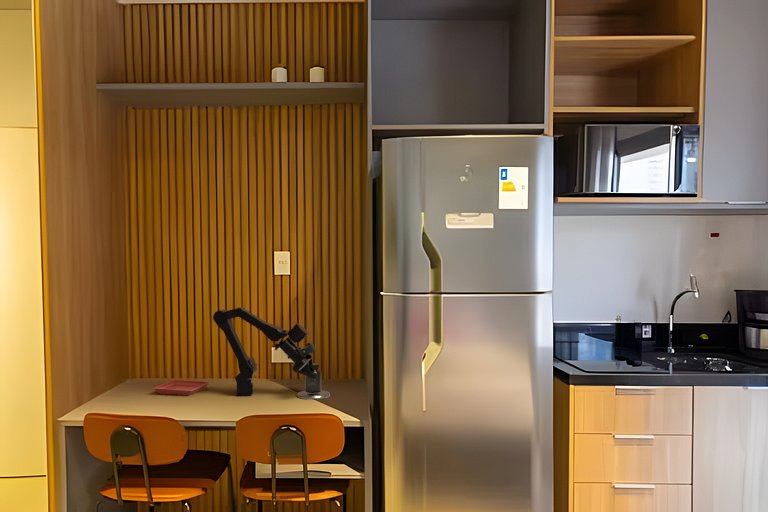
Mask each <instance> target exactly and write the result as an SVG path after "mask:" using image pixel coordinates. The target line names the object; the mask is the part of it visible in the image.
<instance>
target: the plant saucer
mask: <svg viewBox="0 0 768 512" xmlns="http://www.w3.org/2000/svg"><path fill="white" fill-rule="evenodd" d="M209 384H210V382H209V381H200V380H199V381H198V380H196V381H195V380H183V379H182V380H181V379H180V380H179V379H172V380H169V381H167V382H165V383H162V384H160V385H157V386H155V387H153V389H154V390H155V392H156V393H157V394H159V393H162V394H161V395H166V394H178V395H177V396H185V395H190V396H191V395H194V394H196V393H199V392H200V391H202V389H203V390H205V388H207V386H208V385H209Z"/></svg>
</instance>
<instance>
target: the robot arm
mask: <svg viewBox="0 0 768 512" xmlns="http://www.w3.org/2000/svg"><path fill="white" fill-rule="evenodd" d="M235 318H240V319H242V320H244V321H245V322H246V323H248V324H250V325H251V326H253V327H255V328H256V329H258V330H259V331H260V332H262V333H263V335H264V336H265V337H266V338H267V339H269V341H270V342H274V351H277V350H279V349H281V351H282V352H283V353H284V354H285V355H286V356H287V359H289V360H291V361H292V363H293V365H292V371H293V372H294V373H298V374H301V375H303V376H305V375H306V376H308V377H311V378H313V379H315V378H316V376H315V375H314V373H313V372H312V371H311V369H310V368H309V363H314V362H313V361H314V358H313V357H314V355H313V354H312V353H314V352H316V350H317V349H316V347H315V344H314V343H311V342H310V341H309V342H307V343H306V345H305V347H301V346H297V345H296V343H298V344H300V342H302V341H303V340H304V339H305V338H306V337H307V336H308V335H309V333H308V331H307V330H306V327H303V326H302V325H300V324H299V323H298V322H297V323H295V324H294V326H293V327H292V328H291V329H290V330H287V329H283V328H282V327H280V326H278V325H275V324H272V323H269V322H267V321H265V320H263V319H262V318H260V317H259V316H258V315H256V314H254V313H252V312H251V311H249V310H247V309H246V308H245V307H243V306H240V307H237V308H233V309H229V310H228V309H225V308H223V309H220V310H217V311H215V312H214V313H213V315H212V319H213V322H214V323H215V324H216V325H217V327H218V328H220V330H221V331H222V332H223V334H224V336H225V337H226V340H227V341H228V343H229V345H230V348H231V350H232V352H233V353H234V356H235V358H236V359H237V365H238V370H239V373H238V374H237V375H236V376H235V377H234V380H235V382H236V393H235V396H236V397H246V396H247V397H248V396H249V397H251V396H252V394H253V393H254V383H253V380H252V379H253V377H254V375H256V373H257V372H258V364H257V363H256V360H255V358H254V357H253V356H252V357H250V356H248V355H247V352H246V350H245V348H244V346H243V344H242V342H241V341H240V339H239V336H238V334H237V332H236V331H235V328H234V326H233V325H234V324H233V319H235ZM284 338H285V339H284ZM278 341H279V342H278Z"/></svg>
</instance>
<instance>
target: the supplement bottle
mask: <svg viewBox="0 0 768 512" xmlns="http://www.w3.org/2000/svg"><path fill="white" fill-rule="evenodd" d="M309 368H310V369H311V371H312V372H313V373H314V375H315V376H316V378H315V379H313V378H311V377H308V376H306V375H304V376H305V377H304V380H305V381H304V383H305V386H304V387H305V388H304V391H306V392H307V393H319V392H320V391H321V390H322V371H321V370H320V364H319V363H316V362H313V363H309Z"/></svg>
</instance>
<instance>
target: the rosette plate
mask: <svg viewBox="0 0 768 512" xmlns="http://www.w3.org/2000/svg"><path fill="white" fill-rule="evenodd" d="M297 396H298V397H299V398H298V397H297V398H298V399H301V398H304V399H303V400H307V399H317V400H325V399H328V398H330V396H331V392H329V391H327V390H324V389H323V390H322V389H321V391H320V392H319V393H307V392H306V391H305V390H301V391H299V392H297Z"/></svg>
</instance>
